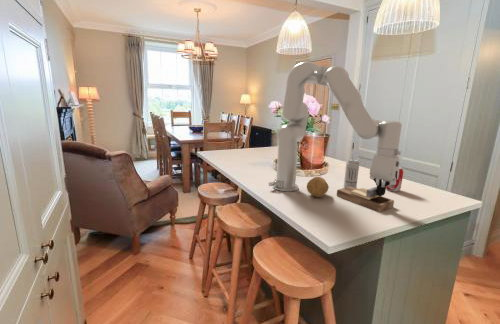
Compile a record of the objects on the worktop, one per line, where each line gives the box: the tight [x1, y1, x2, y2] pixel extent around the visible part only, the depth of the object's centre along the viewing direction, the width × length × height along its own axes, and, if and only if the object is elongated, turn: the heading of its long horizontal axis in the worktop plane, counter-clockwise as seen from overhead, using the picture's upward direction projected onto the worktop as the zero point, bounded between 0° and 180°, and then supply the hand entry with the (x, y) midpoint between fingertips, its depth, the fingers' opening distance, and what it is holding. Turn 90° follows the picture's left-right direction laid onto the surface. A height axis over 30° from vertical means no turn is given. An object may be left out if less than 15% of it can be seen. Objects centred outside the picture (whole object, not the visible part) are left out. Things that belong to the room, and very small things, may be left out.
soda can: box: [386, 166, 404, 193], centre depth 131 cm, size 7×7×12 cm
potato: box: [306, 176, 330, 198], centre depth 120 cm, size 10×14×8 cm
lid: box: [350, 186, 379, 200], centre depth 114 cm, size 9×9×4 cm
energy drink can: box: [343, 158, 360, 188], centre depth 130 cm, size 6×6×15 cm
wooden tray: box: [336, 186, 395, 213], centre depth 115 cm, size 10×21×3 cm, turn 34°
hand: (380, 195), depth 109 cm, fingers closed
